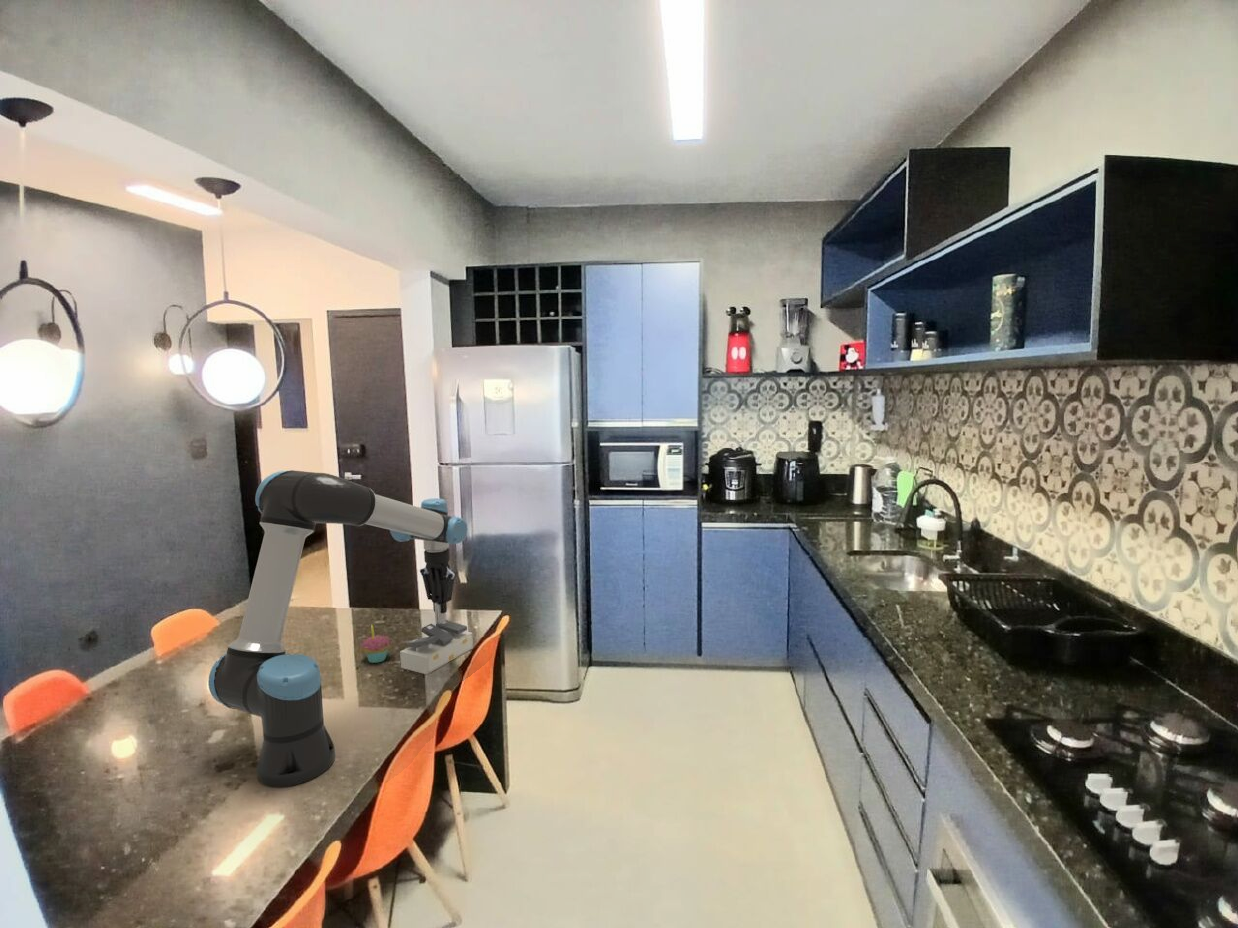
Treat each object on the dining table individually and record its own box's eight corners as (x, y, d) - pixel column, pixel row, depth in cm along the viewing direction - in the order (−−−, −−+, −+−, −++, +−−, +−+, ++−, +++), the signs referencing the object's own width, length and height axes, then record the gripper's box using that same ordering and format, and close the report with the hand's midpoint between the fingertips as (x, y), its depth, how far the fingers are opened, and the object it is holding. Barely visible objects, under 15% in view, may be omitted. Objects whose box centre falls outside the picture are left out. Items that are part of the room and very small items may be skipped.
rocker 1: (428, 644, 180) (427, 640, 180) (406, 647, 184) (405, 643, 184) (438, 639, 184) (437, 635, 184) (416, 642, 188) (415, 638, 188)
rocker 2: (443, 645, 186) (443, 641, 186) (421, 631, 190) (421, 627, 189) (452, 640, 190) (453, 636, 189) (430, 626, 193) (431, 623, 193)
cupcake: (385, 665, 186) (382, 626, 184) (356, 665, 186) (353, 626, 184) (396, 653, 194) (393, 615, 193) (368, 653, 194) (366, 616, 193)
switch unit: (427, 674, 179) (426, 653, 179) (401, 667, 184) (399, 646, 183) (473, 648, 197) (473, 628, 196) (448, 642, 202) (447, 623, 201)
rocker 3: (458, 634, 191) (458, 630, 191) (435, 627, 195) (435, 623, 195) (467, 629, 195) (467, 625, 195) (444, 623, 199) (444, 619, 199)
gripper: (461, 548, 194) (465, 621, 197) (429, 543, 200) (433, 614, 203) (444, 554, 187) (448, 630, 191) (411, 549, 193) (416, 622, 197)
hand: (440, 622), depth 197 cm, fingers closed
